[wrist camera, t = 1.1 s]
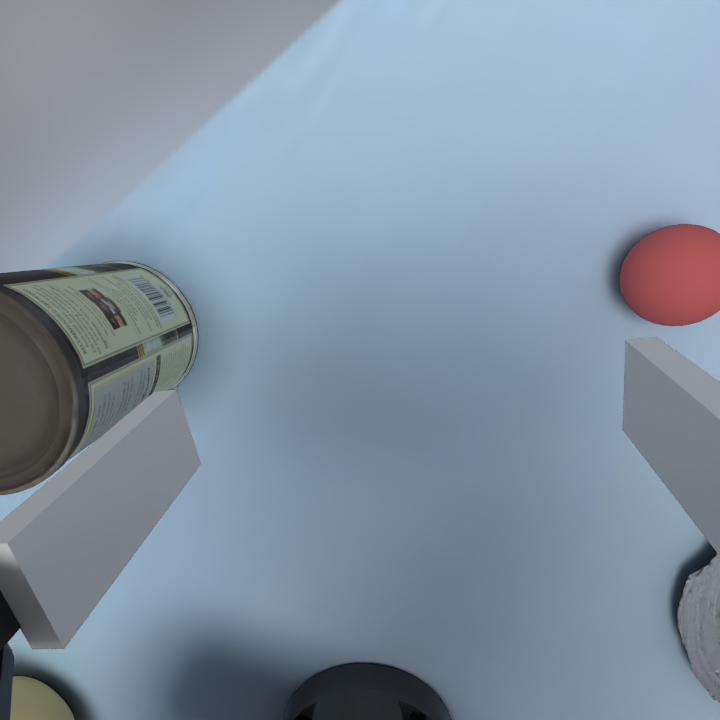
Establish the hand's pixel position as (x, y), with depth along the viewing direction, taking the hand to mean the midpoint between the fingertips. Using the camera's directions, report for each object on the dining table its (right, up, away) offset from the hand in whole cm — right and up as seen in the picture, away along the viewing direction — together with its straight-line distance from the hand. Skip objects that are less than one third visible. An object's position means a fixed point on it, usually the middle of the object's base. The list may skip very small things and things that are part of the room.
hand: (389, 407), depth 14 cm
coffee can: (-18, +3, +21) cm, 28 cm away
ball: (+18, +6, +15) cm, 24 cm away
